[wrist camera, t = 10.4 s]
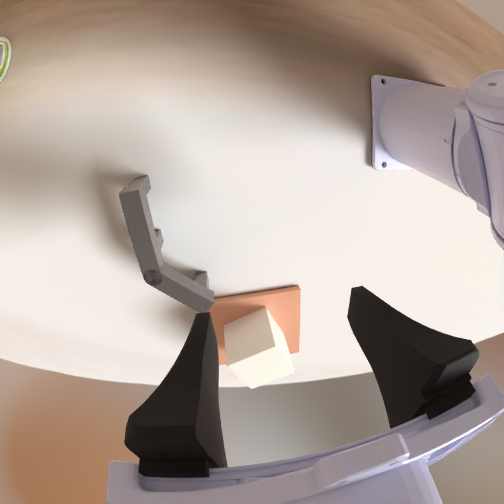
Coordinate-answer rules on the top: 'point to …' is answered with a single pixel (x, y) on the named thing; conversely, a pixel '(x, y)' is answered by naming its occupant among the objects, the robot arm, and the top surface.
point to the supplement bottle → (4, 56)
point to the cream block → (257, 349)
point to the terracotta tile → (276, 301)
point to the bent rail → (150, 256)
